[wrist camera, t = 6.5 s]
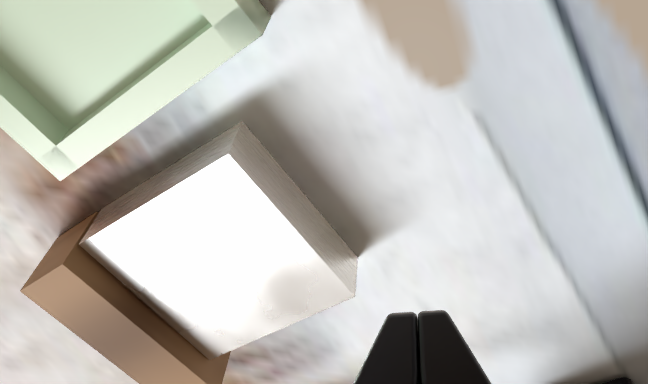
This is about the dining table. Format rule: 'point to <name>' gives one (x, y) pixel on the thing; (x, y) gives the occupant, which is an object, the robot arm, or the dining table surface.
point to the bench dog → (115, 317)
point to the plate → (224, 246)
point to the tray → (107, 66)
